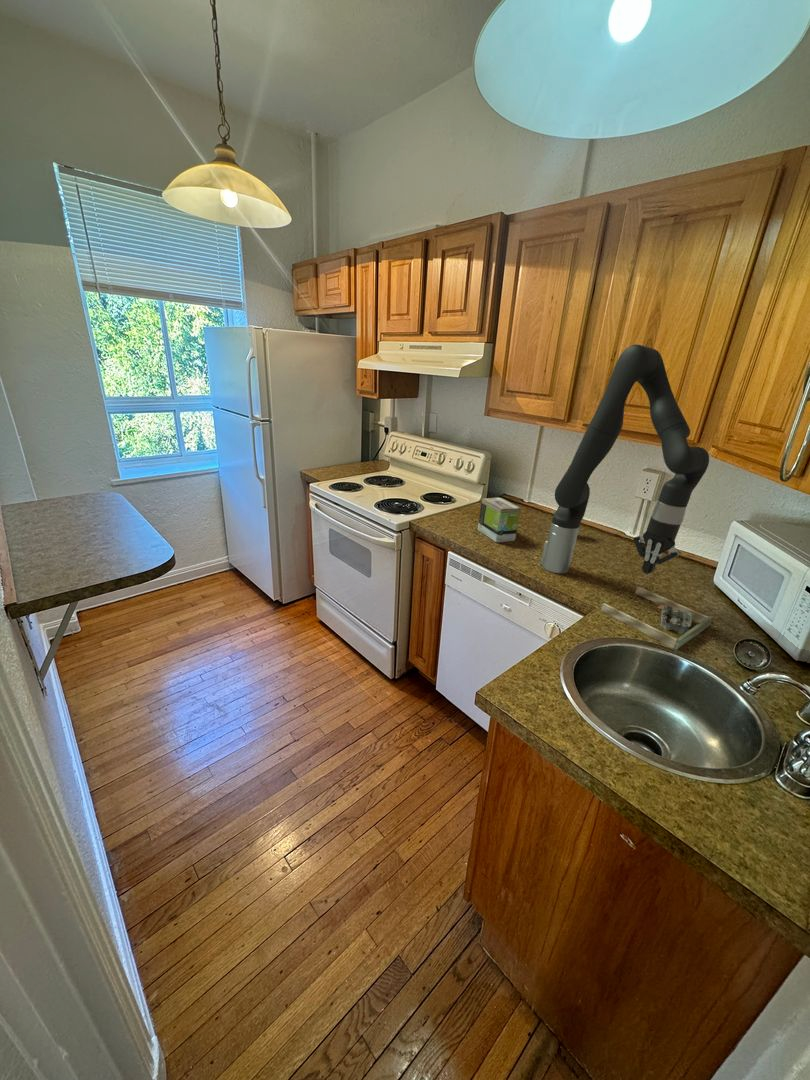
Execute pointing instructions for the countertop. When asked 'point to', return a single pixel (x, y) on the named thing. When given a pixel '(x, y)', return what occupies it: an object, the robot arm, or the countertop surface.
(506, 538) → the tea box
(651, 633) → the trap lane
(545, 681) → the countertop surface
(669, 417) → the robot arm
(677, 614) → the egg carton
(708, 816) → the countertop surface
